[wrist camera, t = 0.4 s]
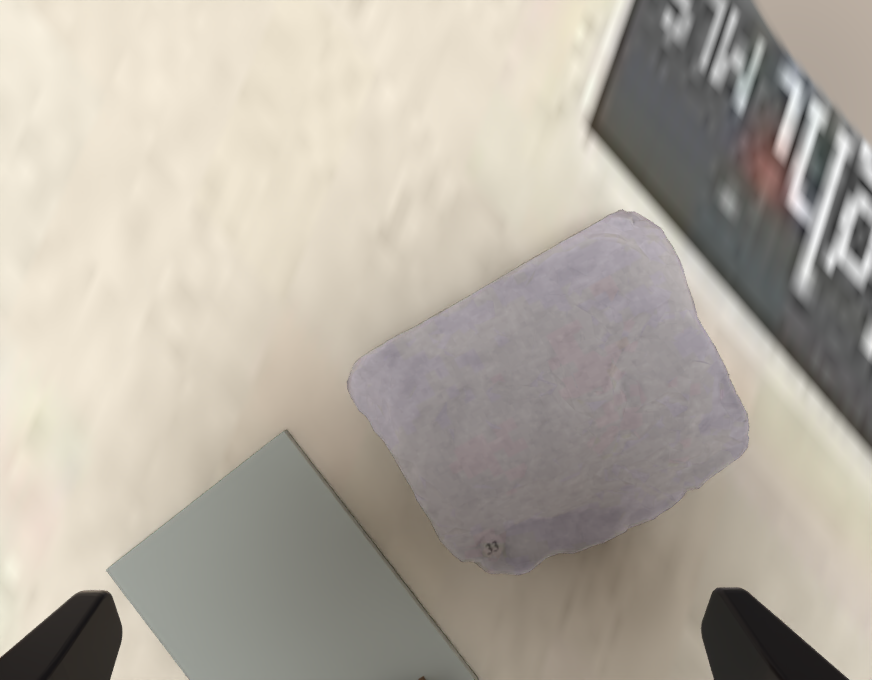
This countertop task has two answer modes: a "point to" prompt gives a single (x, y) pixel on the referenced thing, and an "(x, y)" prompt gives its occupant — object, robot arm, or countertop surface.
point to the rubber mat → (280, 585)
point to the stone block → (557, 400)
